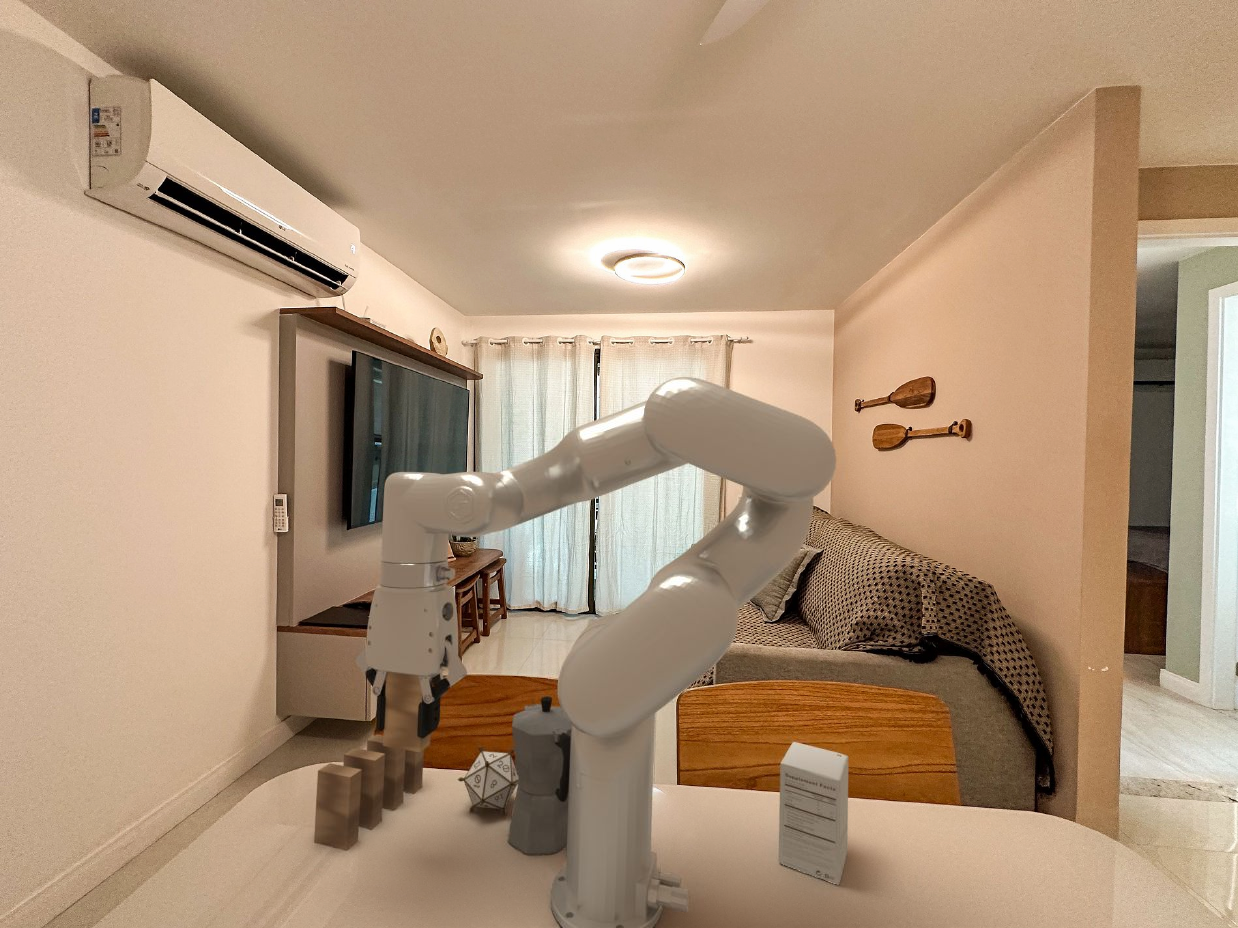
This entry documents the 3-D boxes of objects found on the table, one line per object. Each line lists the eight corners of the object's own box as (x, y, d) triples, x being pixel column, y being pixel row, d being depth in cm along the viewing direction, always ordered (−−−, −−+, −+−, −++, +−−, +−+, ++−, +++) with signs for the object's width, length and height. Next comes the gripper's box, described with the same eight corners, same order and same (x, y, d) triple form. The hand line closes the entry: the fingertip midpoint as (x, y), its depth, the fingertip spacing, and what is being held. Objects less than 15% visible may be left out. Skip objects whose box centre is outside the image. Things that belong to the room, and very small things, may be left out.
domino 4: (430, 744, 66) (433, 667, 66) (419, 752, 64) (423, 673, 64) (394, 738, 67) (397, 663, 67) (383, 745, 65) (386, 668, 65)
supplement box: (790, 833, 76) (792, 739, 76) (848, 853, 72) (850, 754, 72) (776, 864, 69) (778, 761, 70) (839, 888, 65) (841, 779, 66)
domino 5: (421, 786, 84) (424, 726, 85) (413, 793, 82) (416, 732, 83) (393, 781, 86) (396, 721, 86) (385, 787, 84) (388, 727, 84)
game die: (501, 827, 81) (543, 764, 84) (483, 841, 73) (531, 771, 76) (456, 786, 83) (499, 726, 86) (435, 795, 76) (482, 729, 78)
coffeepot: (492, 816, 77) (498, 685, 78) (555, 799, 82) (559, 676, 83) (530, 887, 64) (536, 729, 65) (603, 863, 68) (607, 715, 69)
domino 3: (403, 802, 80) (406, 739, 80) (393, 810, 78) (396, 745, 78) (373, 796, 81) (376, 734, 82) (364, 803, 79) (367, 740, 80)
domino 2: (381, 820, 76) (385, 753, 76) (371, 829, 74) (375, 760, 74) (351, 813, 77) (354, 747, 77) (340, 822, 75) (344, 754, 75)
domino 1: (358, 840, 71) (361, 769, 72) (346, 850, 69) (350, 777, 70) (326, 833, 72) (329, 763, 73) (314, 842, 71) (317, 770, 71)
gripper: (493, 575, 68) (487, 727, 67) (375, 566, 72) (369, 708, 71) (460, 585, 60) (452, 755, 60) (331, 574, 65) (323, 732, 64)
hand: (407, 727), depth 65 cm, fingers closed on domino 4, 4 cm apart
